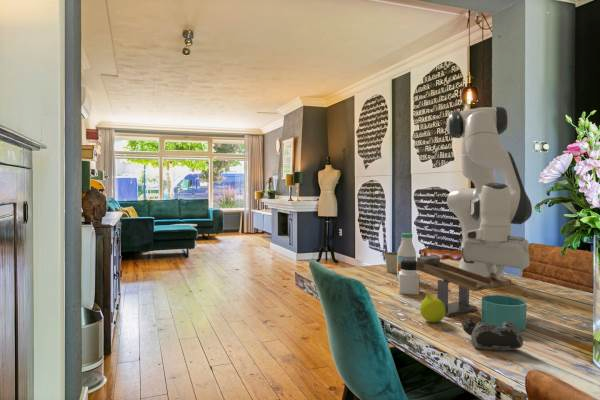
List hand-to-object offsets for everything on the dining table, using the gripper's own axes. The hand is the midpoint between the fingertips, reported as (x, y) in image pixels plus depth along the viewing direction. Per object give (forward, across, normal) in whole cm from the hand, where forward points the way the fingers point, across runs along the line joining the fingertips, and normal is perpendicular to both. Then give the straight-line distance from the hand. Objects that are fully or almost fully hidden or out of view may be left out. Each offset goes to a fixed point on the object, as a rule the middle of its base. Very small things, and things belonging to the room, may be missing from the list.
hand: (494, 278), depth 128 cm
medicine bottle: (+10, +32, +4) cm, 34 cm away
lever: (+1, +9, +4) cm, 10 cm away
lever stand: (+10, +8, +10) cm, 16 cm away
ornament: (+11, +4, +24) cm, 27 cm away
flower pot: (+10, +62, -19) cm, 65 cm away
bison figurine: (+11, -16, +27) cm, 33 cm away
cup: (+10, -9, +10) cm, 17 cm away
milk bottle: (+10, +46, -10) cm, 48 cm away
